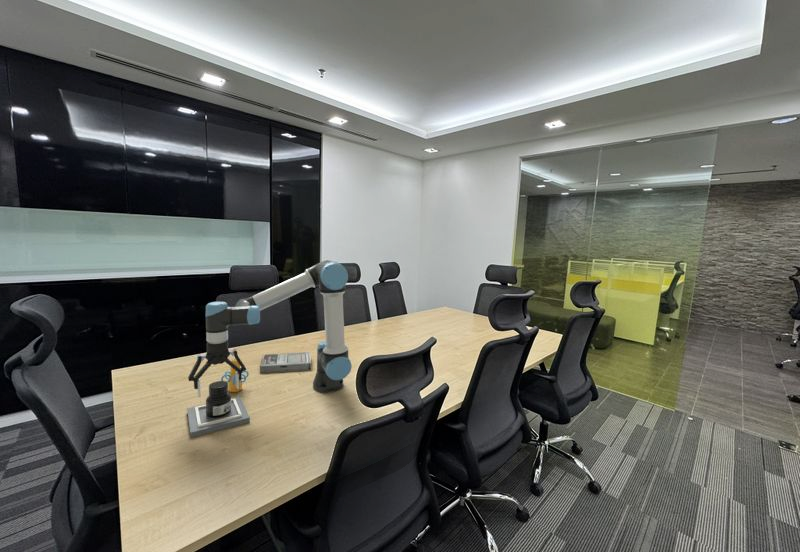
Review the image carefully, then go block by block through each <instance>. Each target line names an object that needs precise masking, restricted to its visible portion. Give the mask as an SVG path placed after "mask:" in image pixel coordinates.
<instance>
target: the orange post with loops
mask: <svg viewBox="0 0 800 552" xmlns="http://www.w3.org/2000/svg"><path fill="white" fill-rule="evenodd" d="M230 361H231V362H233V363H234V364H235V365H236V366H237V367H239V368H241V366H240V364H239V363H238V361H237V360H236V358H235V357H234V358H232V359H230ZM236 372H237V371H236V370H235V369H233V368H232V367H231V366H230V371H229V370H227V371H226V372H224V374H223V375H222V376H221V379H220V381H224V378H225V379H226V382H228V393H229V392H230V393H237V392H240V391H242V390H243V383H245V382H246V381H247V378H248V377H249V371H248V370H245V371H243V372H242V373H241V377H242V379H241V380H239V389H237V388H236ZM244 373H246V375H245V374H244Z"/></svg>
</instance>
